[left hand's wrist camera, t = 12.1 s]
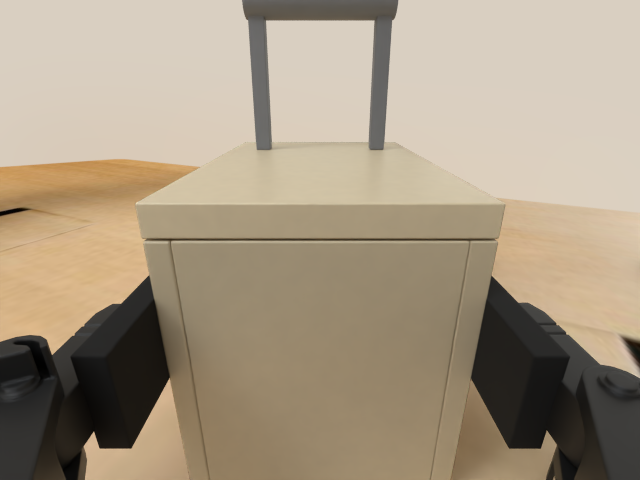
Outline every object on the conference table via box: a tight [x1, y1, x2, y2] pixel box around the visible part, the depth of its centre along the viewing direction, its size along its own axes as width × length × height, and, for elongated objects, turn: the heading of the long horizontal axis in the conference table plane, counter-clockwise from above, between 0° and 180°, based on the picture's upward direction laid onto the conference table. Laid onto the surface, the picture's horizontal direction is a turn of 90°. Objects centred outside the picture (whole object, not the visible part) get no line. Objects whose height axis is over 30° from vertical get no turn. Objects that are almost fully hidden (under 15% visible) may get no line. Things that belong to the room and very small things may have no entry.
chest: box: [143, 239, 498, 480], centre depth 17 cm, size 13×9×10 cm
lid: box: [135, 0, 505, 239], centre depth 14 cm, size 13×9×8 cm
